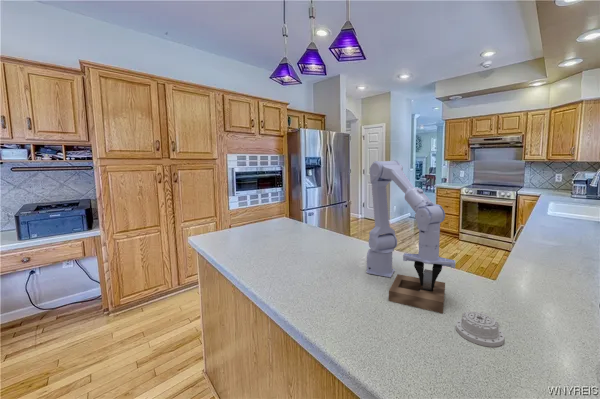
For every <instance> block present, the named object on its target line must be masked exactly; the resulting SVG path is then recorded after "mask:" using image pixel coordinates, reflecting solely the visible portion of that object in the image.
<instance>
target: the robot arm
mask: <svg viewBox="0 0 600 399" xmlns="http://www.w3.org/2000/svg"><path fill="white" fill-rule="evenodd" d="M403 168H404V167H403V165H401V163H400V161H398V160H383V161H381V160H374V161H373V162H372V164H371V165H370V166H369V178H370V179H369V180H370V184H371V192H372V204H373V219H374V227H373V228H372V229H371V230H370V231H369V233H368V234H369V238H368V246H369V248H368V250H367V253H366V272H365V273H366V274H370V275H375V276H381V277H385V278H392V276H393V274H394V272H395V268H393V252H395V249H396V248H397V247H398V246H397V245H398V237H397V236H396V231H395V230H394V229H393V228H392V227H391V226H390V219H389V209H388V208H389V206H388V195H387V185H388V184H389V183H391V182H393V183H394V184H395V185H396V186H397V187H398V188H399V189H400V190H401V191H402V192H403V193H404V200H405V201H406V202H407V204H408V205H409V206H410V207H411V209H412V210H413V212H414V213H415V214H414V218H415V221H416V223H417V229H418V253H406V252H405V253H403V255H402V261H403V262H414V264H413V267H414V270H416V273H417V276H418V278H419V279H420V284H421V286H423V276H424V270H425V264H426V265H432V284H431V288H434V284H435V281H437V279H438V277H439V275H440V274H441V272H442V270H443V267H447V268H448V267H449V268H451V269H456V260H455V259H449V258H446V257H441V256H440V239H441V237H440V236H441V234H440V233H441V223H443V222H444V220H445V218H446V212H445V209H444V208H443V206H442V205H440V204H436V203H435V202H433V201H431V199H430V198H429V197H428V196H427V195H426V193H424V190H423V188H419V187H414V185H413V184H412V182H411V181H410V180H409V178H408V177H407V175H406V174H405V173H404V171H403Z"/></svg>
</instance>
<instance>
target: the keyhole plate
mask: <svg viewBox="0 0 600 399" xmlns="http://www.w3.org/2000/svg"><path fill="white" fill-rule="evenodd" d="M419 288H420V291H419ZM421 289H423V286H421V284H420V279H419V277H415V276H410V275H404V274H399V273H398V274H397V275H396V277H395V278H394V280H393V282H392V284H391V286H390V288H389V289H388V302H393V303H395V304H396V303H397V304H401V305H405V306H408V307H410V306H411V307H413V308H419V309H423V310H427V311H431V312H434V313H438V312H439V313H440V314H443V313H444V304H445V296H444V295H446V294H445V292H446V282H443V281H438V280H436V281H435V284H434V288H432V291H433V292H431V291H426V290H421Z"/></svg>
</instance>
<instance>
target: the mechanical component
mask: <svg viewBox="0 0 600 399" xmlns="http://www.w3.org/2000/svg"><path fill="white" fill-rule="evenodd" d="M455 329H456V331H457V333H458V334H459V335H460V336H461V337H463V338H464V339H466V340H467V341H469V342H471V343H475V344H477V345H479V346H483V347H488V348H489V347H490V348H494V347H495V348H497V347H500V346H502V345H504V342H505V334H504V333H503V332H504V331H502V330H501V329H500V328H499V321H497V320H496V319H495V317H493V316H490V315H488V313H484V312H483V311H478V310H476V311H474V310H473V311H472V310H468V311H463V312H462V314H461V318H458V319H457V320H456V322H455Z"/></svg>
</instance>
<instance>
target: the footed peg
mask: <svg viewBox="0 0 600 399" xmlns="http://www.w3.org/2000/svg"><path fill="white" fill-rule="evenodd" d="M431 284H432V270H431V269H427V268H424V276H423V289H421V290H426V291H431V292H433V291H432V288H431ZM419 291H420V288H419Z"/></svg>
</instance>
